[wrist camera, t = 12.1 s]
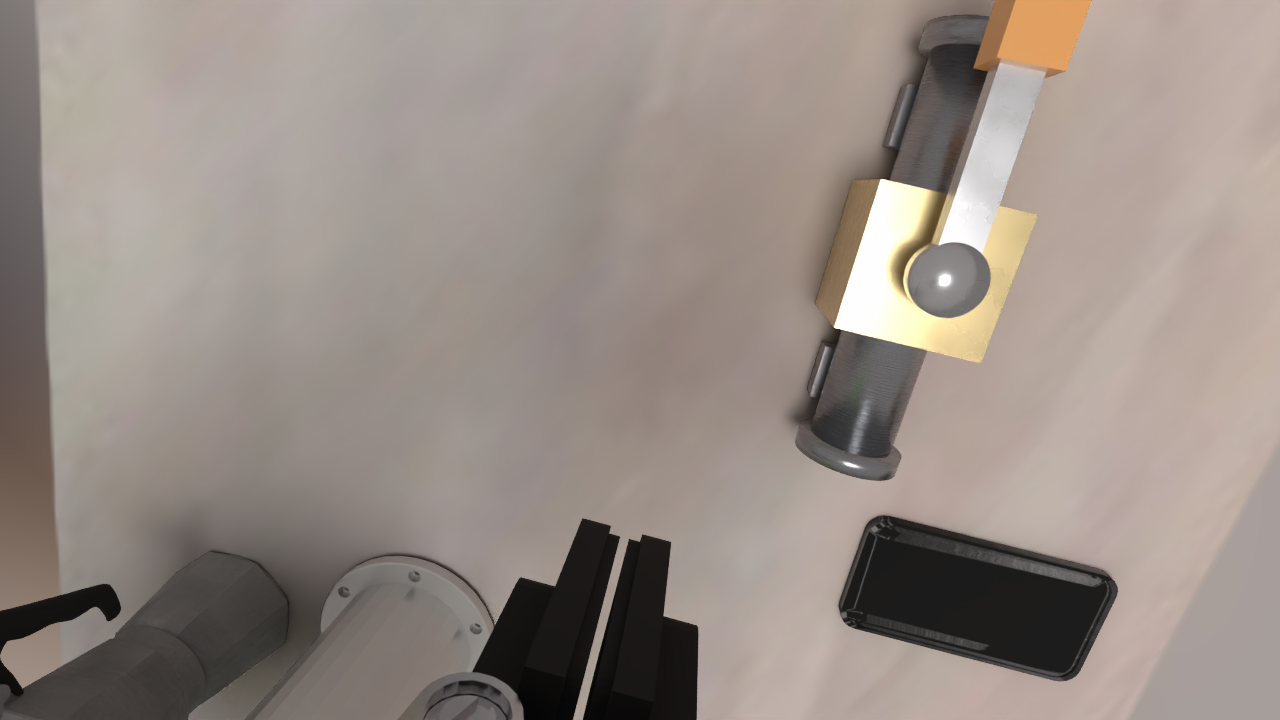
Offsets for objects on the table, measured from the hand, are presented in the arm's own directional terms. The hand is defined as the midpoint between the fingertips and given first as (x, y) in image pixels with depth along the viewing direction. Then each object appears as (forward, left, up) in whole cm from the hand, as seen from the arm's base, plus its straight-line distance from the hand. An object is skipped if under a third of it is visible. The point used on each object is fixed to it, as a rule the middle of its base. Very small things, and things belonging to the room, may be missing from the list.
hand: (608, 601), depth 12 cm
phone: (-13, -22, -28) cm, 38 cm away
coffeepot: (-28, +27, -28) cm, 48 cm away
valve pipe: (+6, -11, -28) cm, 30 cm away
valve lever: (+11, -10, -21) cm, 26 cm away
